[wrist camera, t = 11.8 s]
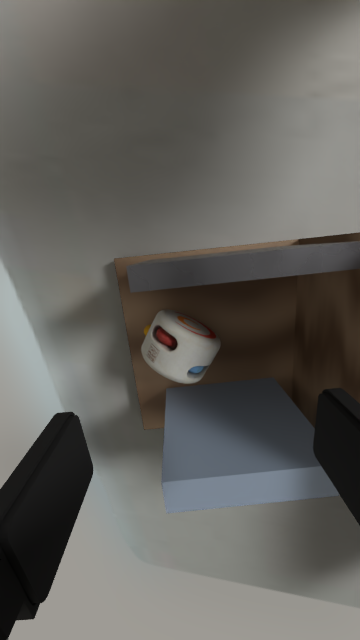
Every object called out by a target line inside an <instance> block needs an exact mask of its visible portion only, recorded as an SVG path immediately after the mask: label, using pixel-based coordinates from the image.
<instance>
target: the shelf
mask: <svg viewBox="0 0 360 640" xmlns="http://www.w3.org/2000/svg"><path fill="white" fill-rule="evenodd" d="M354 241H360V233H351V234H342V235H333V236H324V237H315V238H306V239H297V240H287V241H278V242H268V243H259V244H249V245H240V246H230V247H221V248H211V249H202V250H192V251H183V252H173V253H164V254H154V255H145V256H135V257H126V258H116V259H114V262H115V267H116V273H117V279H118V284H119V290H120V296H121V301H122V307H123V313H124V318H125V324H126V330H127V335H128V341H129V347H130V352H131V358H132V364H133V369H134V375H135V381H136V386H137V392H138V398H139V403H140V409H141V415H142V420H143V426H144V430H147V429H156V428H164V426H165V408H166V389H167V388H175V387H185V386H195V385H204V384H214V383H224V382H233V381H243V380H253V379H262V378H272V377H274V379H275V380H276V381H277V382H278V384H279V385H280V386H281V387H282V389H283V390H284V391H285V392H286V394H287V395H288V396H289V397H290V399H291V400H292V401H293V402H294V404H295V405H296V406H297V407H298V408H299V410H300V411H301V412H302V413H303V415H304V416H305V417H306V418H307V420H308V421H309V422H310V423H311V425H312V426H313V427H314V428H315V423H316V413H317V403H318V396H319V394H321V393H322V391H323V390H324V389H332V388H342V389H343V390H345V391H346V392H347V393H348V394H349V395H350V396H352V397H353V398H354V399H355V400H356V401H357V402H359V403H360V269H353V270H343V271H333V272H324V273H314V274H305V275H295V276H286V277H276V278H266V279H257V280H247V281H238V282H228V283H219V284H209V285H200V286H190V287H180V288H171V289H161V290H152V291H142V292H133V293H130V286H129V280H128V274H127V268H126V266H128V265H132V264H136V263H140V262H143V261H147V260H153V259H162V258H172V257H181V256H191V255H200V254H210V253H219V252H229V251H238V250H248V249H257V248H267V247H277V246H292V245H308V244H323V243H339V242H354ZM165 309H169V310H175V311H178V312H181V313H184V314H186V315H188V316H191V317H193V318H194V319H196V320H198V321H200V322H201V323H203V324H204V325H206V326H207V327H209V328H210V329H211V330H213V331H214V332H215V333H216V334H217V335H218V337H219V339H220V342H221V346H220V349H219V351H218V352H217V354H216V356H215V358H214V359H213V361H212V363H211V364H210V366H209V367H208V369H207V370H206V372H205V374H204V376H203V377H202V379H201V380H200V381H198V382H196V383H192V384H184V383H178V382H175V381H172V380H170V379H168V378H166V377H164V376H162V375H160V374H159V373H157V372H156V371H155V370H153V369H152V368H151V367H150V366H149V365H148V364H147V362H146V361H145V360H144V358H143V355H142V351H141V347H142V344H143V342H144V340H145V338H146V336H145V334H144V328H145V327H146V326H147V325H152V323H153V321H154V319H155V317H156V315H157V313H158V312H160V311H161V310H165Z"/></svg>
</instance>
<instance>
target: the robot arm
mask: <svg viewBox="0 0 360 640" xmlns="http://www.w3.org/2000/svg"><path fill="white" fill-rule="evenodd" d="M313 452H314V455H315V457H316V459H317V460H318V462H319V463H320V465H321V466H322V468H323V470H324V471H325V473H326V474H327V476H328V477H329V479H330V480H331V482H332V483H333V485H334V487H335V488H336V490H337V491H338V493H339V494H340V496H341V497H342V499H343V500H344V502H345V503H346V505H347V507H348V508H349V510H350V511H351V513H352V514H353V516H354V517H355V519H356V520H357V522H358V524H359V525H360V403H359V402H357V401H356V400H355V399H354V398H353V397H352V396H350V395H349V394H348V393H347V392H346V391H345V390H343V389H342V388H332V389H324V390H323V391H322V393H321V394H319V396H318V403H317V413H316V423H315V432H314V442H313ZM92 475H93V464H92V461H91V457H90V454H89V451H88V447H87V444H86V440H85V437H84V433H83V430H82V427H81V423H80V420H79V417H78V416H77V415H75V414H74V413H73V412H63V413H57V414H55V415H54V416H53V418H52V419H51V421H50V422H49V423H48V425H47V426H46V427H45V429H44V430H43V432H42V433H41V434H40V436H39V437H38V438H37V440H36V441H35V442H34V444H33V446H32V447H31V448H30V449H29V451H28V452H27V453H26V455H25V456H24V458H23V459H22V460H21V462H20V463H19V465H18V466H17V467H16V469H15V470H14V471H13V473H12V474H11V476H10V477H9V478H8V480H7V481H6V482H5V484H4V485H3V487H2V488H1V489H0V640H8V637H9V635H10V633H11V630H12V628H13V626H14V623H15V621H16V620H28V619H34V618H35V615H36V612H37V610H38V607H39V605H40V603H42V602H44V601H45V599H46V598H47V596H48V594H49V591H50V589H51V586H52V583H53V580H54V578H55V575H56V572H57V570H58V567H59V564H60V562H61V558H62V556H63V554H64V551H65V548H66V545H67V543H68V540H69V537H70V535H71V532H72V529H73V527H74V524H75V521H76V519H77V516H78V513H79V510H80V508H81V505H82V502H83V500H84V497H85V494H86V492H87V489H88V486H89V483H90V481H91V478H92Z"/></svg>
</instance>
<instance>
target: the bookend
mask: <svg viewBox="0 0 360 640" xmlns="http://www.w3.org/2000/svg"><path fill="white" fill-rule="evenodd" d="M126 268H127V274H128V280H129V286H130V293H133V292H142V291H152V290H161V289H171V288H180V287H190V286H200V285H209V284H219V283H228V282H238V281H247V280H257V279H266V278H276V277H286V276H295V275H305V274H314V273H324V272H333V271H343V270H353V269H360V241H354V242H339V243H323V244H308V245H292V246H277V247H267V248H257V249H248V250H238V251H229V252H219V253H210V254H200V255H191V256H181V257H172V258H162V259H153V260H147V261H143V262H140V263H136V264H132V265H128V266H126Z"/></svg>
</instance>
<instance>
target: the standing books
mask: <svg viewBox="0 0 360 640" xmlns="http://www.w3.org/2000/svg"><path fill="white" fill-rule="evenodd" d="M314 432H315V428H314V427H313V426H312V425H311V423H310V422H309V421H308V420H307V418H306V417H305V416H304V415H303V413H302V412H301V411H300V410H299V408H298V407H297V406H296V405H295V404H294V402H293V401H292V400H291V399H290V397H289V396H288V395H287V394H286V392H285V391H284V390H283V389H282V387H281V386H280V385H279V384H278V382H277V381H276V380H275V379H274V377H272V378H262V379H253V380H243V381H233V382H224V383H214V384H204V385H195V386H185V387H175V388H167V389H166V408H165V426H164V445H163V464H162V489H163V495H164V501H165V507H166V513H174V512H184V511H194V510H204V509H214V508H223V507H233V506H243V505H253V504H263V503H273V502H282V501H292V500H302V499H312V498H322V497H332V496H339V493H338V491H337V490H336V488H335V487H334V485H333V483H332V482H331V480H330V479H329V477H328V476H327V474H326V473H325V471H324V470H323V468H322V466H321V465H320V463H319V462H318V460H317V459H316V457H315V455H314V452H313V442H314Z"/></svg>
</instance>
